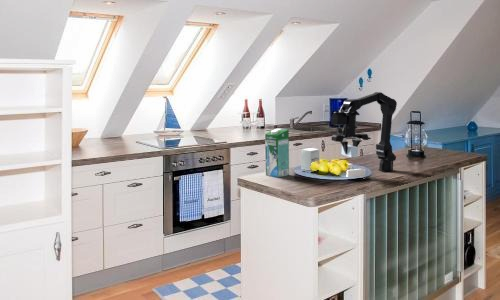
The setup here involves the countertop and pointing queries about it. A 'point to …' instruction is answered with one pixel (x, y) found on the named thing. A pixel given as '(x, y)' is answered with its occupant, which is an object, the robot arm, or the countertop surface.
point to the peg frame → (354, 172)
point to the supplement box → (309, 157)
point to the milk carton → (277, 152)
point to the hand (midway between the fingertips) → (349, 153)
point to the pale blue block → (351, 151)
